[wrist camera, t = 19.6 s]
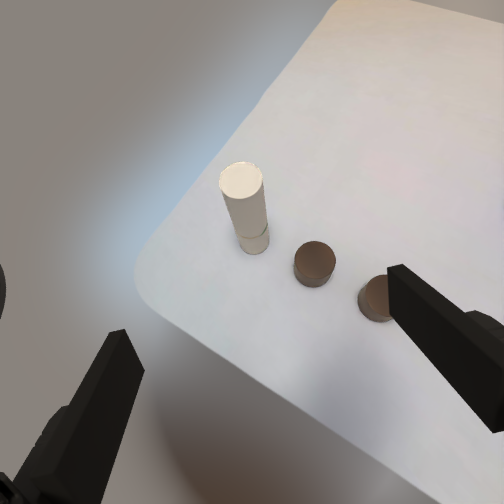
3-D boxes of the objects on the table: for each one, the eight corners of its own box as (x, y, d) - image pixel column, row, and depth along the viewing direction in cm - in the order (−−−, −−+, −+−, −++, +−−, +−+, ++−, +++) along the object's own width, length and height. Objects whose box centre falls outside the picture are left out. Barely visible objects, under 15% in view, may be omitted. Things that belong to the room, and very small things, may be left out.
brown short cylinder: (368, 327, 38) (378, 323, 34) (351, 291, 40) (357, 282, 36) (405, 314, 38) (419, 308, 34) (386, 278, 40) (397, 268, 36)
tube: (248, 259, 43) (230, 206, 29) (234, 235, 44) (212, 173, 30) (274, 245, 43) (270, 186, 29) (260, 222, 44) (249, 155, 31)
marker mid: (302, 292, 40) (304, 284, 36) (288, 259, 42) (288, 248, 38) (337, 279, 40) (342, 270, 37) (322, 247, 42) (325, 235, 38)
